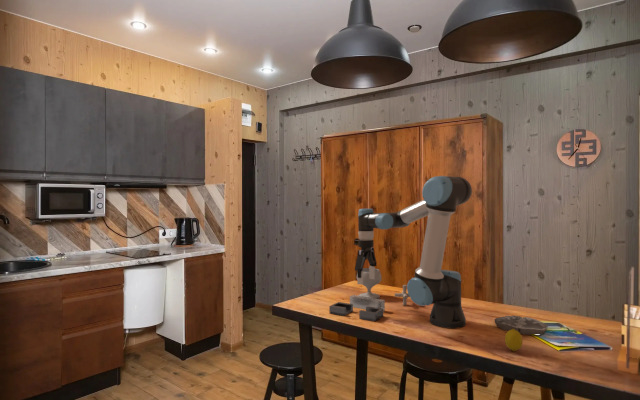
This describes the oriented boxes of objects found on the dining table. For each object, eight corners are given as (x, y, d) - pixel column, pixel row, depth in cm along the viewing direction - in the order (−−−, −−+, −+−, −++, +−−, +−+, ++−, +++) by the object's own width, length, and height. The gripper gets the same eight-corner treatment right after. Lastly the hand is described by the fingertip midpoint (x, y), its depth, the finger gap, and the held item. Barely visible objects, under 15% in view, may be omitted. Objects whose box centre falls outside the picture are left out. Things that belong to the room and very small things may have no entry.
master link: (384, 311, 186) (384, 300, 186) (381, 312, 183) (381, 301, 183) (353, 305, 197) (353, 294, 197) (349, 306, 194) (349, 296, 194)
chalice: (372, 301, 204) (371, 273, 204) (351, 296, 213) (351, 270, 213) (386, 296, 214) (386, 269, 214) (366, 292, 224) (366, 266, 224)
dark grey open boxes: (383, 316, 178) (383, 308, 178) (375, 321, 170) (375, 313, 170) (338, 308, 190) (338, 301, 190) (329, 313, 183) (329, 306, 183)
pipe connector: (413, 302, 201) (413, 283, 201) (416, 307, 191) (415, 287, 191) (394, 301, 202) (393, 283, 202) (396, 307, 192) (395, 287, 192)
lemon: (504, 352, 135) (503, 329, 135) (506, 347, 139) (506, 325, 139) (521, 355, 131) (521, 332, 131) (523, 350, 136) (523, 328, 136)
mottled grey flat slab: (548, 327, 161) (548, 320, 161) (546, 339, 146) (546, 332, 146) (498, 319, 171) (498, 313, 171) (491, 330, 157) (491, 323, 157)
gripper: (369, 236, 203) (370, 276, 203) (347, 241, 182) (347, 285, 182) (382, 237, 199) (383, 277, 199) (361, 242, 178) (362, 287, 178)
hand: (366, 281), depth 190 cm, fingers open, 13 cm apart
